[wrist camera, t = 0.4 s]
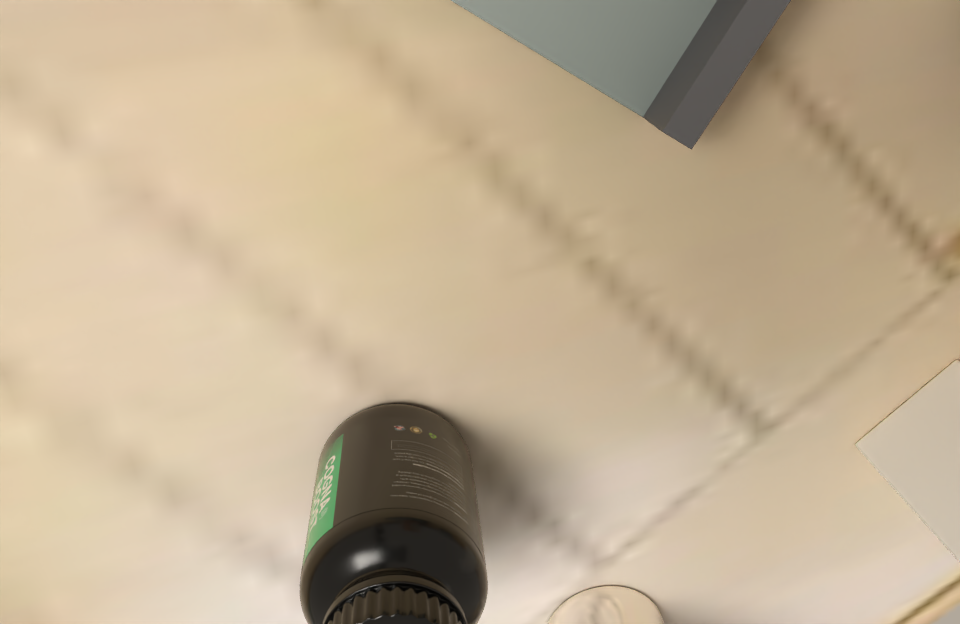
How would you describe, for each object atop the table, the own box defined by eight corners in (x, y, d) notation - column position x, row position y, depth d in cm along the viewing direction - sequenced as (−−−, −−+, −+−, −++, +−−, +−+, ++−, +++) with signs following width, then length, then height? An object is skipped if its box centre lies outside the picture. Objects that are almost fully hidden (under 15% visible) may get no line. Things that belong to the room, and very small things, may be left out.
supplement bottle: (290, 436, 38) (246, 639, 27) (432, 374, 37) (446, 556, 26) (361, 548, 41) (347, 774, 30) (494, 492, 40) (530, 702, 29)
